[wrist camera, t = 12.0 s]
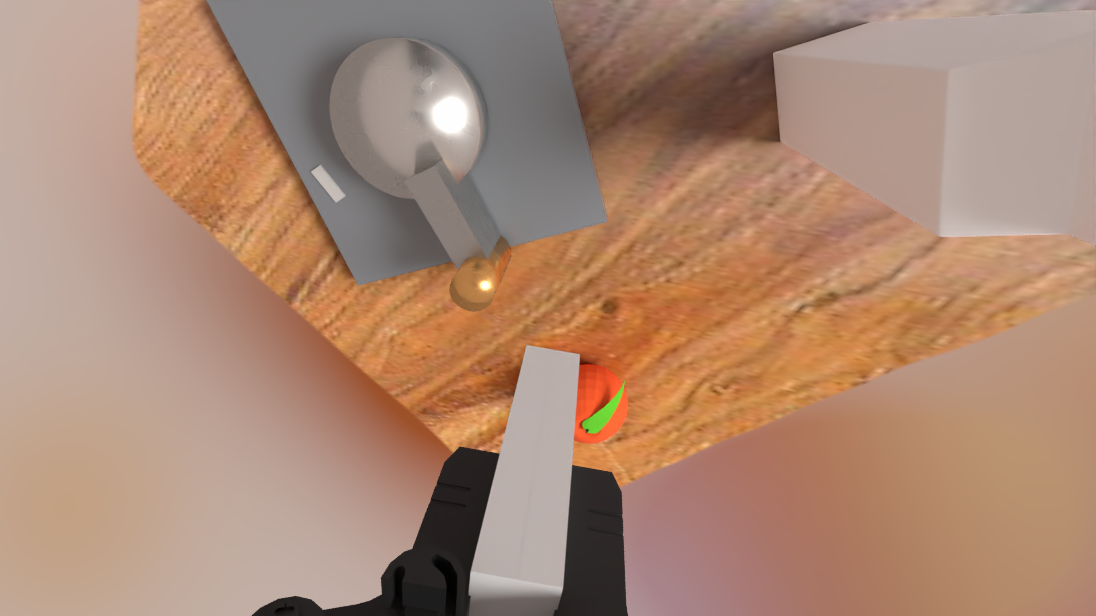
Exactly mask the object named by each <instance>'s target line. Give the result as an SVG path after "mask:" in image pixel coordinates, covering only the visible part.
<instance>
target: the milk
mask: <svg viewBox="0 0 1096 616" xmlns="http://www.w3.org/2000/svg"><path fill="white" fill-rule="evenodd" d="M773 61H774V73H775V84H776V96H777V108H778V119H779V131H780V141H781V143H783V144H784V145H786V146H788V147H789V148H791V149H793V150H794V151H796V152H798V153H799V154H801V155H803V156H804V157H806V158H808V159H809V160H811V161H813V162H814V163H816V164H818V165H819V166H821V167H823V168H824V169H826V170H828V171H829V172H831V173H833V174H835V175H836V176H838V177H840V178H841V179H843V180H845V181H846V182H848V183H850V184H851V185H853V186H855V187H856V188H858V189H860V190H861V191H863V192H865V193H866V194H868V195H870V196H871V197H873V198H875V199H876V200H878V201H880V202H881V203H883V204H885V205H886V206H888V207H890V208H891V209H893V210H895V211H896V212H898V213H900V214H901V215H903V216H905V217H906V218H908V219H910V220H911V221H913V222H915V223H916V224H918V225H920V226H921V227H923V228H925V229H926V230H928V231H930V232H931V233H933V234H935V235H937V236H939V237H965V236H1006V235H1048V234H1067V235H1070V236H1073V237H1075V238H1078V239H1080V240H1082V241H1085V242H1087V243H1089V244H1092V245H1094V246H1096V10H1084V11H1066V12H1047V13H1028V14H1009V15H991V16H972V17H953V18H934V19H916V20H897V21H878V22H869V23H866V24H863V25H860V26H856V27H853V28H850V29H847V30H844V31H840V32H837V33H834V34H831V35H828V36H825V37H821V38H818V39H815V40H812V41H809V42H806V43H802V44H799V45H796V46H793V47H790V48H787V49H783V50H780V51H777V52H774V53H773Z"/></svg>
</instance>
